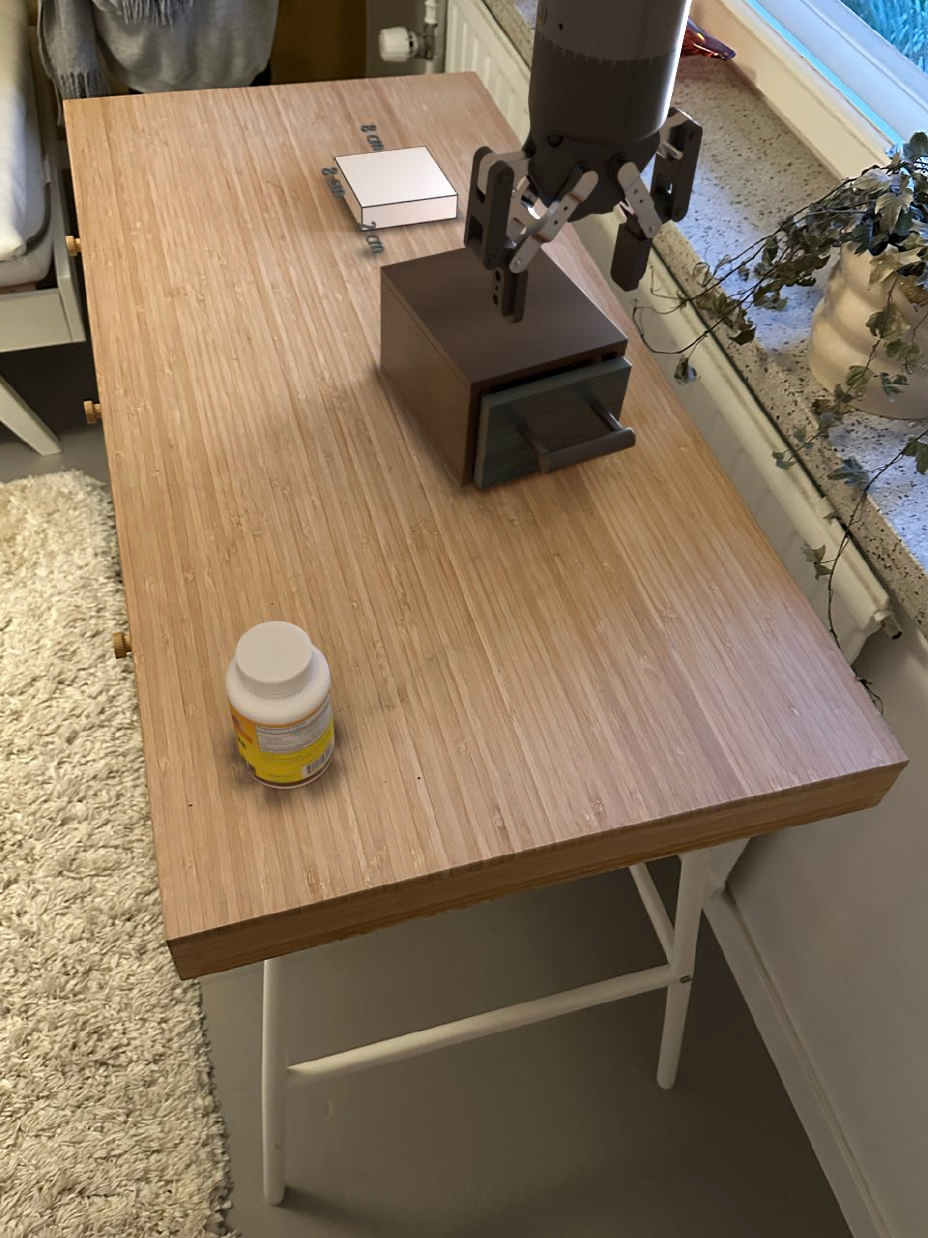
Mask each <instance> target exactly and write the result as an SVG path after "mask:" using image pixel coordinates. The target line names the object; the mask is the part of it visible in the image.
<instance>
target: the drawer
mask: <svg viewBox="0 0 928 1238" xmlns="http://www.w3.org/2000/svg"><path fill="white" fill-rule="evenodd" d="M602 358H603V355H601V356H597V357H594V358H590V359H587V360H583V361H580V362H576V363H572V364H569V365H565V366H562V367H558V368H555V369H551V370H548V371H544V372H541V373H537V374H534V375H530V376H527V377H523V378H520V379H516V380H513V381H509V382H506V383H502V384H499V385H495V386H491V387H488V388H484V389H481V390H480V395H479V406H478V416H477V427H476V437H475V448H474V458H473V463H475V471H474V482H475V483H474V484H475V485H476V486H477V487H478V489H479V491H481V492H482V491H485V490H487V489H488V490H489V489H491V488H495V487H498V486H500V485H504V484H507V483H509V482H513V481H516V480H519V479H522V478H525V477H528V476H531V475H535V474H538V473H541V472H542V473H543V474H544V475H550V474H553V473H556V472H559V471H563V470H565V469H569V468H571V467H574V466H577V465H581V464H584V463H587V462H590V461H593V460H597V459H600V458H603V457H605V456H609V455H612V454H615V453H619V452H621V451H625V450H628V449H630V448H634V447H635V446H636V443H637V439H636V434H635V431H634V430H633V428H631V427H629V426H627V427H624V428H623V427H622V426H621V424H620V423H619V422H620V418H621V414H622V410H623V407H624V401H625V397H626V393H627V389H628V385H629V380H630V376H631V372H632V368H633V365H632V363H630V362H629V361H628V360H627V359H626V358H625V356H624V357H623V356H622V357H619V358H615V359H612V360H608V361H605V362H602Z"/></svg>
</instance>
